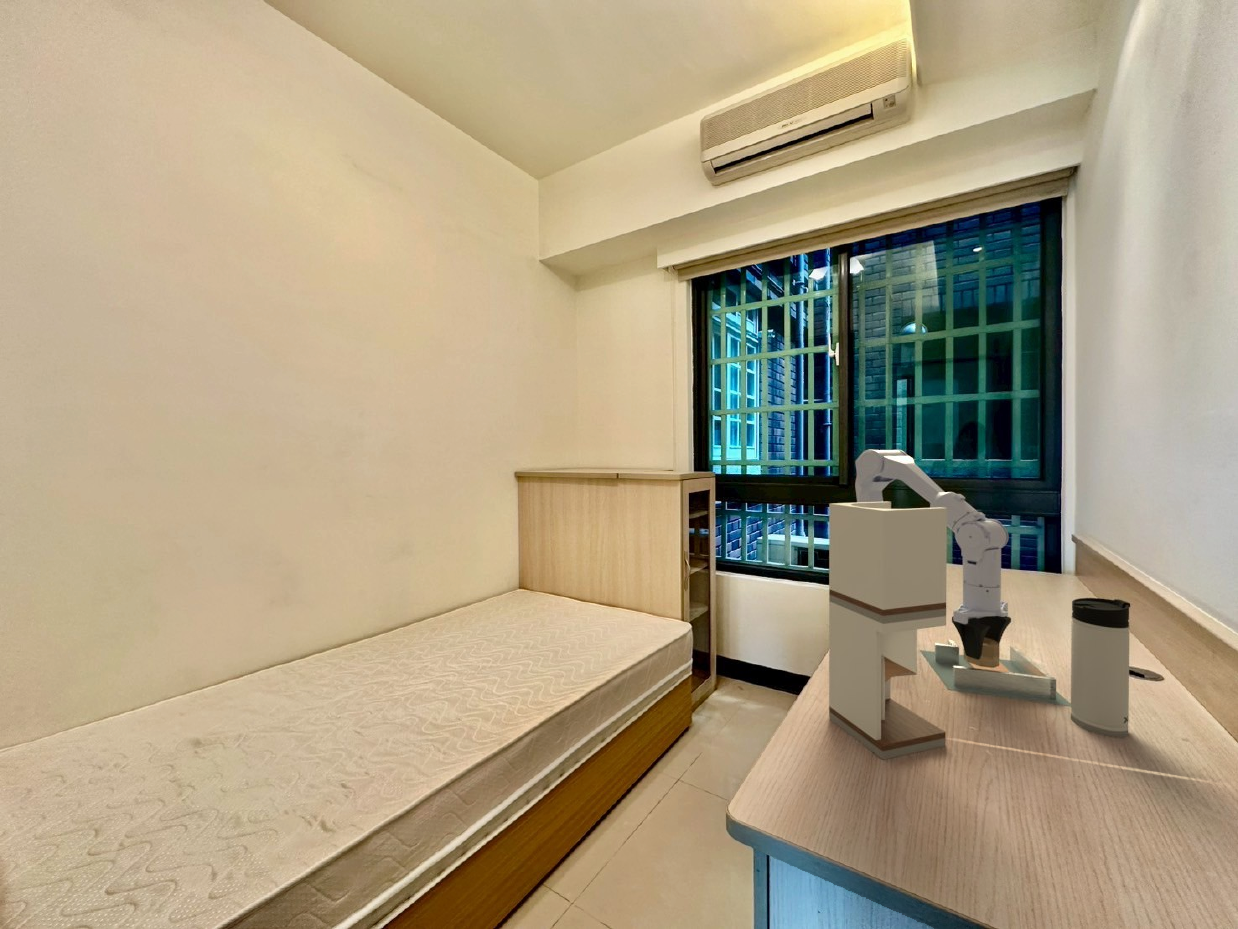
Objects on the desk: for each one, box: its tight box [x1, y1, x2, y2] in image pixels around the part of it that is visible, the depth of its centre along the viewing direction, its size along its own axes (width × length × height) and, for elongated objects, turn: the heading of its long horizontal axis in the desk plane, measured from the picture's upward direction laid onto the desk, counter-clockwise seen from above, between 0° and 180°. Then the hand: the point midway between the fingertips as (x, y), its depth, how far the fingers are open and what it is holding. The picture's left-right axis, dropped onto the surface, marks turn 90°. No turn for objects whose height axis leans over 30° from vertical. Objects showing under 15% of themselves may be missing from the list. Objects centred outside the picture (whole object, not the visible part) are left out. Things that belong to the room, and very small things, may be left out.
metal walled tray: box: [934, 639, 1057, 700], centre depth 89 cm, size 15×15×4 cm
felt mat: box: [919, 649, 1071, 707], centre depth 89 cm, size 18×18×1 cm
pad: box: [968, 662, 1011, 673], centre depth 92 cm, size 6×6×1 cm
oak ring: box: [963, 637, 1000, 668], centre depth 88 cm, size 5×5×4 cm
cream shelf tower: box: [828, 500, 948, 760], centre depth 71 cm, size 11×11×35 cm
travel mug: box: [1070, 597, 1131, 739], centre depth 72 cm, size 6×7×20 cm
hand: (981, 654), depth 88 cm, fingers closed on oak ring, 5 cm apart
